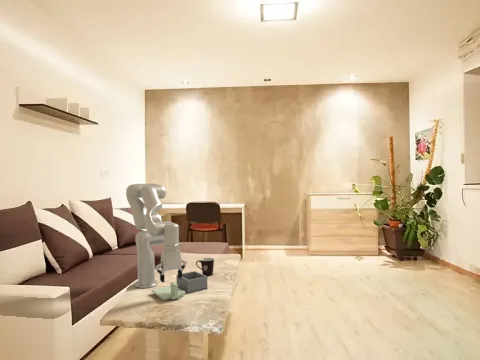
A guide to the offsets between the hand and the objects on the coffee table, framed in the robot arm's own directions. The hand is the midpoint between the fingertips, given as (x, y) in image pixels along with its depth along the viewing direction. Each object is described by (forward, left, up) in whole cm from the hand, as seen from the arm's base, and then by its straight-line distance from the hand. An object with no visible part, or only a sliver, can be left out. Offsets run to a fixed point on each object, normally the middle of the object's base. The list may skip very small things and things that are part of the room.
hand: (171, 280), depth 171 cm
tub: (-6, +15, -9) cm, 18 cm away
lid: (-3, 0, -9) cm, 9 cm away
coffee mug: (-24, +35, -9) cm, 43 cm away
